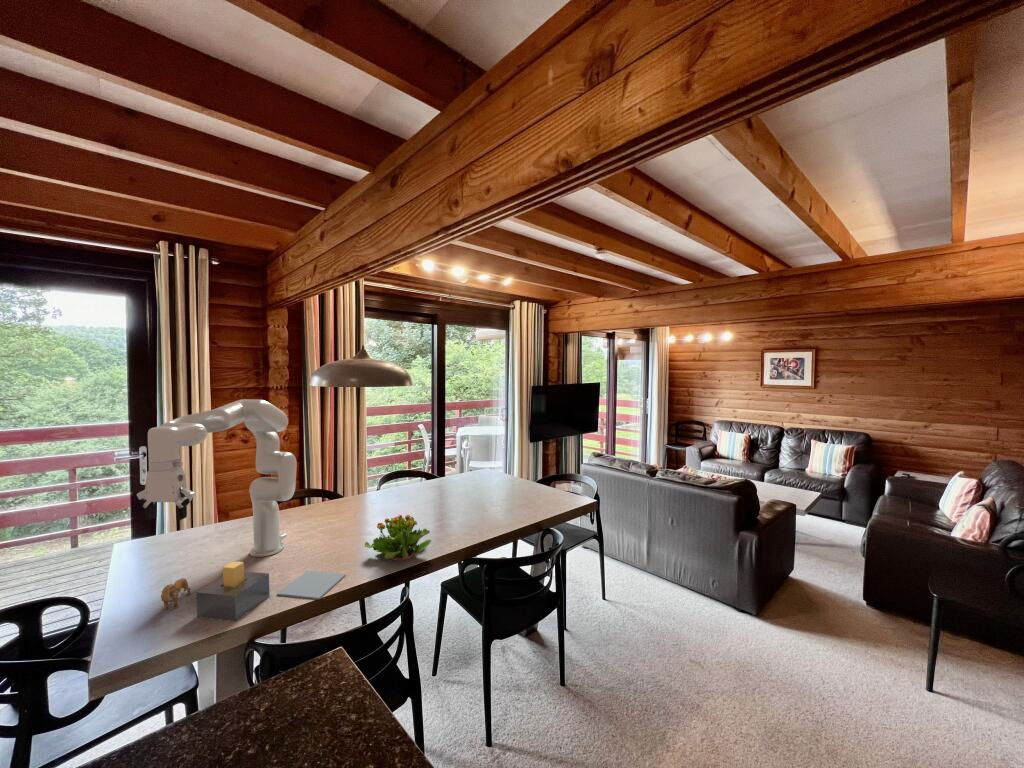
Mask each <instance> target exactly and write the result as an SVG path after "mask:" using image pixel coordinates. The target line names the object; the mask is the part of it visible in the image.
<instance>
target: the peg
mask: <svg viewBox="0 0 1024 768" xmlns="http://www.w3.org/2000/svg"><path fill="white" fill-rule="evenodd" d="M244 571H245V562H243V561H233V560H232V561H231V562H230V563H228V564H226V565H224V566H223V567H222V575H223V576H222V577H223V581H224V587H232V588H235V587H237V586H238V585H240V584H241V583H243V582H244Z"/></svg>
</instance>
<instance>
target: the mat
mask: <svg viewBox="0 0 1024 768" xmlns="http://www.w3.org/2000/svg"><path fill="white" fill-rule="evenodd" d="M346 576H347V575H346V573H337V572H327V571H325V572H324V571H315V570H314V571H312V570H306V571H305V572H303V573H302V574H301V575H299V576H298V577H297V578H295V579H294V580H293V581H292V582H290V583H288V585H286V586H285V587H284V588H282V589H281V590H279V591H278V592H277V593H276V596H279V595H280V596H281V597H290V598H298V599H300V598H301V599H309V600H310V599H311V600H321V599H322V598H323V597H324V596H325V595H326V594H327V593H328V592H329V591H330V590H332V589H333V587H335V586H336V585H337V584H338V583H339V582H340V581H341V580H342V579H344V578H345V577H346Z"/></svg>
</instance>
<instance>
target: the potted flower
mask: <svg viewBox="0 0 1024 768" xmlns="http://www.w3.org/2000/svg"><path fill="white" fill-rule="evenodd" d="M384 523H385V524H384ZM384 523H383V522H378V523H377V525H376V528H377V530H380V534H379V535H380V536H379V537H375V538H373V540H372V542H373V543H372V544H370V543H369V542H368V541H365V543H364V547H365V548H368V549H371V548H372V549H373V551H376V553H381V554H384V559H385V560H393V561H397V562H399V561H400V562H401V561H403V562H404V561H406V560H410V559H412V558H413V557H414V555H415V554H418V553H420V552H421V551H423V550H424V549H426V548H427V547H428V546H429V545H430V544H431V543H432V539H426V540H424V541H423V542H421V543H420V544H418V543H419V541H420V540H421V539H422V538H423V537H425V536H426V535H429V534H430V532H431V531H430V530H427V528H423V529H422V530H421V529H420V528H418V529H414V527H415V526H417V525H418V521H417V520H415V518H414V517H413V516H411V515H410V514H406V515H405V516H403V515H402V514H398V515H397V516H395V517H392V518H388V517H386V518H385V519H384ZM384 529H387V533H388V534H389V535H387V536H386V535H385V534H384V532H383V530H384ZM413 529H414V530H413Z"/></svg>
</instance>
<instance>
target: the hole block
mask: <svg viewBox="0 0 1024 768" xmlns="http://www.w3.org/2000/svg"><path fill="white" fill-rule="evenodd" d="M195 593H196V594H195V596H196V598H195V599H196V617H197V618H201V617H203V619H210V618H213V619H212V620H219V619H221V620H220V621H228V620H230V621H229V622H238V621H239V620H241V618H243V617H244V616H246V615H247V614H248V613H250V612H251V611H252V610H254V609H255V608H256V607H258V605H260V604H261V603H263V602H264V601H265V600H267V599H268V598H269V597H270V573H267V572H258V571H257V572H255V571H245V570H244V582H243V583H241V584H240V585H238V586H237V587H235V588H232V587H224V581H223V576H221V577H219V578H217V579H216V580H215V581H213V582H211V583H209V584H208V585H206V586H204V587H203V588H201V589H199V590H198V591H196V592H195ZM246 613H247V614H246ZM242 616H243V617H242Z"/></svg>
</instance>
